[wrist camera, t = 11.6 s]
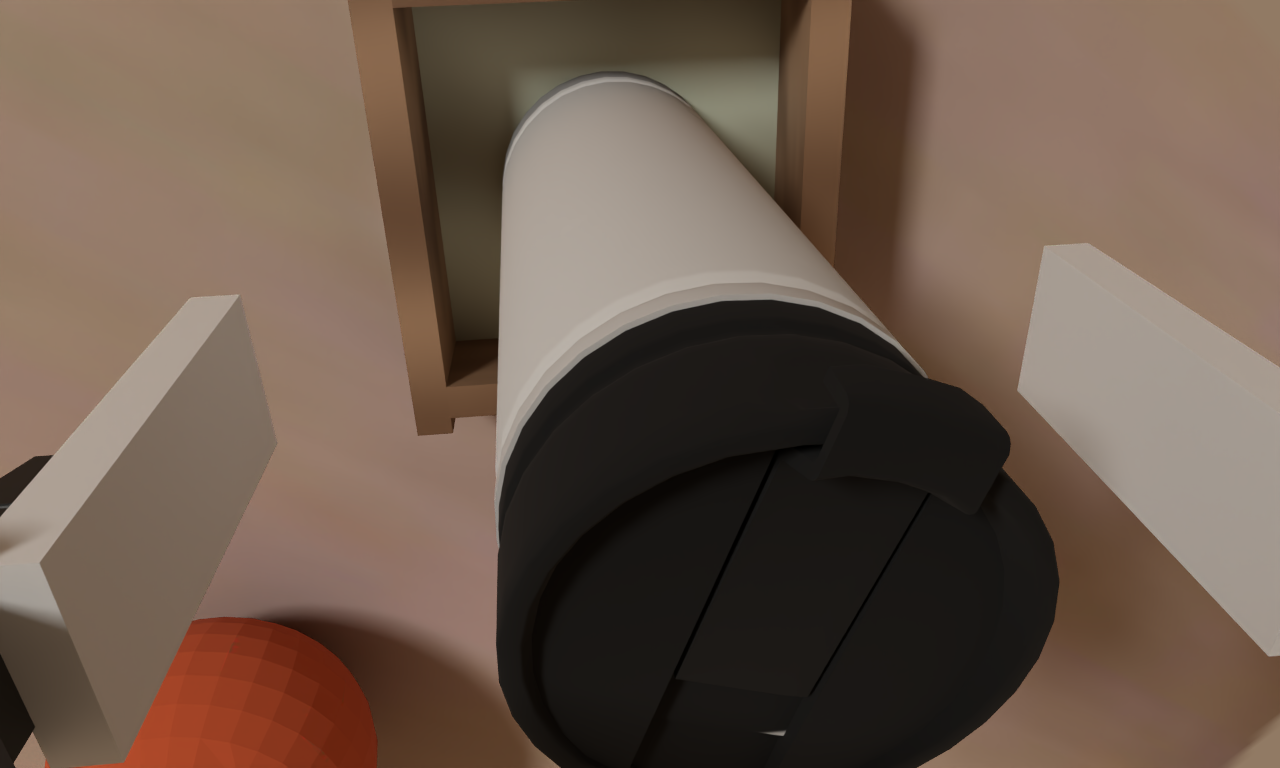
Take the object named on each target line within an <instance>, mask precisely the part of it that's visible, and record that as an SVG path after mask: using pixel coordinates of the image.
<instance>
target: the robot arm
mask: <svg viewBox="0 0 1280 768" xmlns="http://www.w3.org/2000/svg"><path fill="white" fill-rule="evenodd" d="M1017 391H1018V392H1019V393H1020V394H1021V395H1022V396H1023V397H1024V398H1025V399H1026V400H1027V401H1028V402H1029V403H1030V404H1031V406H1032V407H1033V408H1034V409H1035V410H1036V411H1037V412H1038V413H1039V414H1040V415H1041V416H1042V417H1043V418H1044V419H1045V420H1046V421H1047V422H1048V424H1049V425H1050V426H1051V427H1052V428H1053V429H1054V430H1055V431H1056V432H1057V433H1058V434H1059V435H1060V436H1061V437H1062V438H1063V439H1064V440H1065V442H1066V443H1067V444H1068V445H1069V446H1070V447H1071V448H1072V449H1073V450H1074V451H1075V452H1076V453H1077V454H1078V455H1079V456H1080V457H1081V458H1082V459H1083V461H1084V462H1085V463H1086V464H1087V465H1088V466H1089V467H1090V468H1091V469H1092V470H1093V471H1094V472H1095V473H1096V474H1097V475H1098V476H1099V477H1100V479H1101V480H1102V481H1103V482H1104V483H1105V484H1106V485H1107V486H1108V487H1109V488H1110V489H1111V490H1112V491H1113V492H1114V493H1115V494H1116V495H1117V497H1118V498H1119V499H1120V500H1121V501H1122V502H1123V503H1124V504H1125V505H1126V506H1127V507H1128V508H1129V509H1130V510H1131V511H1132V512H1133V513H1134V515H1135V516H1136V517H1137V518H1138V519H1139V520H1140V521H1141V522H1142V523H1143V524H1144V525H1145V526H1146V527H1147V528H1148V529H1149V530H1150V531H1151V533H1152V534H1153V535H1154V536H1155V537H1156V538H1157V539H1158V540H1159V541H1160V542H1161V543H1162V544H1163V545H1164V546H1165V547H1166V548H1167V549H1168V551H1169V552H1170V553H1171V554H1172V555H1173V556H1174V557H1175V558H1176V559H1177V560H1178V561H1179V562H1180V563H1181V564H1182V565H1183V566H1184V567H1185V569H1186V570H1187V571H1188V572H1189V573H1190V574H1191V575H1192V576H1193V577H1194V578H1195V579H1196V580H1197V581H1198V582H1199V583H1200V584H1201V585H1202V587H1203V588H1204V589H1205V590H1206V591H1207V592H1208V593H1209V594H1210V595H1211V596H1212V597H1213V598H1214V599H1215V600H1216V601H1217V602H1218V603H1219V605H1220V606H1221V607H1222V608H1223V609H1224V610H1225V611H1226V612H1227V613H1228V614H1229V615H1230V616H1231V617H1232V618H1233V619H1234V620H1235V621H1236V623H1237V624H1238V625H1239V626H1240V627H1241V628H1242V629H1243V630H1244V631H1245V632H1246V633H1247V634H1248V635H1249V636H1250V637H1251V638H1252V639H1253V641H1254V642H1255V643H1256V644H1257V645H1258V646H1259V647H1260V648H1261V649H1262V650H1263V651H1264V652H1265V653H1266V654H1267V655H1268V656H1269V657H1270V656H1280V367H1278V366H1277V365H1275V364H1274V363H1272V362H1271V361H1269V360H1267V359H1266V358H1264V357H1263V356H1261V355H1260V354H1258V353H1257V352H1255V351H1254V350H1252V349H1251V348H1249V347H1247V346H1246V345H1244V344H1243V343H1241V342H1240V341H1238V340H1237V339H1235V338H1234V337H1232V336H1231V335H1229V334H1227V333H1226V332H1224V331H1223V330H1221V329H1220V328H1218V327H1217V326H1215V325H1214V324H1212V323H1211V322H1209V321H1207V320H1206V319H1204V318H1203V317H1201V316H1200V315H1198V314H1197V313H1195V312H1194V311H1192V310H1191V309H1189V308H1187V307H1186V306H1184V305H1183V304H1181V303H1180V302H1178V301H1177V300H1175V299H1174V298H1172V297H1171V296H1169V295H1167V294H1166V293H1164V292H1163V291H1161V290H1160V289H1158V288H1157V287H1155V286H1154V285H1152V284H1150V283H1149V282H1147V281H1146V280H1144V279H1143V278H1141V277H1140V276H1138V275H1137V274H1135V273H1134V272H1132V271H1130V270H1129V269H1127V268H1126V267H1124V266H1123V265H1121V264H1120V263H1118V262H1117V261H1115V260H1114V259H1112V258H1110V257H1109V256H1107V255H1106V254H1104V253H1103V252H1101V251H1100V250H1098V249H1097V248H1095V247H1094V246H1092V245H1090V244H1089V243H1082V244H1066V245H1049V246H1044V250H1043V255H1042V261H1041V266H1040V271H1039V277H1038V282H1037V288H1036V293H1035V298H1034V304H1033V309H1032V315H1031V320H1030V325H1029V331H1028V336H1027V341H1026V347H1025V352H1024V358H1023V363H1022V368H1021V374H1020V379H1019V384H1018V390H1017ZM276 445H277V439H276V435H275V431H274V427H273V423H272V419H271V415H270V411H269V407H268V403H267V399H266V395H265V391H264V387H263V383H262V379H261V375H260V371H259V367H258V363H257V359H256V355H255V351H254V347H253V344H252V340H251V336H250V332H249V328H248V324H247V320H246V316H245V312H244V308H243V304H242V300H241V296H240V295H224V296H207V297H191V298H189V300H188V301H187V302H186V303H185V304H184V305H183V307H182V308H181V309H180V310H179V311H178V312H177V313H176V315H175V316H174V317H173V318H172V319H171V320H170V322H169V323H168V324H167V325H166V326H165V327H164V328H163V330H162V331H161V332H160V333H159V334H158V335H157V337H156V338H155V339H154V340H153V341H152V342H151V344H150V345H149V346H148V347H147V348H146V349H145V350H144V352H143V353H142V354H141V355H140V356H139V357H138V359H137V360H136V361H135V362H134V363H133V364H132V365H131V367H130V368H129V369H128V370H127V371H126V372H125V374H124V375H123V376H122V377H121V378H120V379H119V380H118V382H117V383H116V384H115V385H114V386H113V387H112V389H111V390H110V391H109V392H108V393H107V394H106V395H105V397H104V398H103V399H102V400H101V401H100V402H99V404H98V405H97V406H96V407H95V408H94V409H93V411H92V412H91V413H90V414H89V415H88V416H87V417H86V419H85V420H84V421H83V422H82V423H81V424H80V426H79V427H78V428H77V429H76V430H75V431H74V432H73V434H72V435H71V436H70V437H69V438H68V439H67V441H66V442H65V443H64V444H63V445H62V446H61V447H60V449H59V450H58V451H57V452H56V453H55V454H54V455H49V456H35V457H33V458H32V459H30V460H29V461H27V462H25V463H24V464H22V465H21V466H19V467H17V468H16V469H14V470H13V471H11V472H9V473H8V474H6V475H5V476H3V477H2V478H0V768H15V766H14V764H13V763H14V761H15V760H16V758H17V756H18V755H19V753H20V751H21V750H22V748H23V746H24V745H25V743H26V742H27V740H28V738H29V737H30V735H31V733H32V732H33V733H34V735H35V737H36V739H37V741H38V743H39V745H40V747H41V750H42V752H43V754H44V756H45V758H46V760H47V762H48V764H49V766H50V768H72V767H82V766H93V765H104V764H115V763H124V762H125V759H126V757H127V755H128V753H129V751H130V749H131V747H132V745H133V743H134V741H135V739H136V737H137V734H138V732H139V730H140V728H141V726H142V724H143V722H144V720H145V718H146V716H147V714H148V712H149V710H150V707H151V705H152V703H153V701H154V699H155V697H156V695H157V693H158V691H159V689H160V687H161V685H162V682H163V680H164V678H165V676H166V674H167V672H168V670H169V668H170V666H171V664H172V662H173V660H174V657H175V655H176V653H177V651H178V649H179V647H180V645H181V643H182V641H183V639H184V637H185V635H186V633H187V630H188V628H189V626H190V624H191V622H192V620H193V618H194V616H195V614H196V612H197V610H198V608H199V605H200V603H201V601H202V599H203V597H204V595H205V593H206V591H207V589H208V587H209V585H210V583H211V581H212V578H213V576H214V574H215V572H216V570H217V568H218V566H219V564H220V562H221V560H222V558H223V556H224V553H225V551H226V549H227V547H228V545H229V543H230V541H231V539H232V537H233V535H234V533H235V531H236V528H237V526H238V524H239V522H240V520H241V518H242V516H243V514H244V512H245V510H246V508H247V506H248V504H249V501H250V499H251V497H252V495H253V493H254V491H255V489H256V487H257V485H258V483H259V481H260V479H261V476H262V474H263V472H264V470H265V468H266V466H267V464H268V462H269V460H270V458H271V456H272V454H273V452H274V449H275V447H276Z"/></svg>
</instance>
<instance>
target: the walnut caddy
mask: <svg viewBox="0 0 1280 768" xmlns="http://www.w3.org/2000/svg"><path fill="white" fill-rule="evenodd" d="M348 5H349V11H350V17H351V23H352V30H353V36H354V42H355V48H356V54H357V61H358V67H359V73H360V79H361V85H362V92H363V98H364V104H365V110H366V116H367V123H368V129H369V135H370V141H371V147H372V154H373V160H374V166H375V172H376V178H377V185H378V191H379V197H380V203H381V209H382V216H383V222H384V228H385V234H386V240H387V247H388V253H389V259H390V265H391V271H392V278H393V284H394V290H395V296H396V302H397V309H398V315H399V321H400V327H401V333H402V340H403V346H404V352H405V358H406V364H407V371H408V377H409V383H410V389H411V395H412V402H413V408H414V414H415V420H416V426H417V433H418V436H420V435H434V434H448V433H453V429H454V423H455V418H459V417H473V416H487V415H497V386H498V347H499V308H500V269H501V230H502V191H503V170H504V164H505V157H506V152H507V149H508V147H509V144H510V141H511V138H512V136H513V133H514V131H515V130H516V128H517V126H518V125H519V123H520V121H521V120H522V118H523V117H524V115H525V114H526V112H527V111H528V110H529V109H530V108H531V107H532V106H533V105H534V104H535V103H536V102H537V101H538V100H539V99H540V98H541V97H542V96H544V95H545V94H546V93H548V92H549V91H551V90H552V89H554V88H555V87H556V86H558V85H559V84H562V83H564V82H566V81H569V80H571V79H573V78H576V77H578V76H581V75H586V74H591V73H596V72H601V71H624V72H629V73H634V74H638V75H643V76H646V77H649V78H651V79H653V80H655V81H658V82H660V83H662V84H665V85H666V86H668V87H669V88H670V89H672V90H673V91H675V92H676V93H677V94H679V95H680V96H682V97H683V98H684V99H685V100H686V102H687V103H688V104H689V105H690V106H691V107H692V108H693V109H694V110H695V111H696V112H697V114H698V115H699V116H700V117H701V118H702V119H703V120H704V121H705V123H706V124H707V125H708V126H709V127H710V128H711V129H712V131H713V132H714V133H715V134H716V135H717V136H718V137H719V138H720V140H721V141H722V142H723V143H724V144H725V145H726V146H727V148H728V149H729V150H730V151H731V152H732V153H733V154H734V156H735V157H736V158H737V159H738V160H739V161H740V162H741V163H742V165H743V166H744V167H745V168H746V169H747V170H748V171H749V173H750V174H751V175H752V176H753V177H754V178H755V179H756V181H757V182H758V183H759V184H760V185H761V186H762V187H763V188H764V190H765V191H766V192H767V193H768V194H769V195H770V196H771V198H772V199H773V200H774V201H775V202H776V203H777V204H778V205H779V207H780V208H781V209H782V210H783V211H784V212H785V213H786V215H787V216H788V217H789V218H790V219H791V220H792V221H793V223H794V224H795V225H796V226H797V227H798V228H799V229H800V230H801V232H802V233H803V234H804V235H805V236H806V237H807V238H808V240H809V241H810V242H811V243H812V244H813V245H814V246H815V248H816V249H817V250H818V251H819V252H820V253H821V254H822V255H823V257H824V258H825V259H826V260H827V261H828V262H829V263H830V265H831V266H832V267H833V268H834V259H835V244H836V229H837V215H838V200H839V185H840V170H841V156H842V141H843V126H844V111H845V97H846V82H847V67H848V52H849V37H850V23H851V8H852V0H348Z"/></svg>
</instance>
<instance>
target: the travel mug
mask: <svg viewBox="0 0 1280 768" xmlns="http://www.w3.org/2000/svg"><path fill="white" fill-rule="evenodd" d="M1010 445H1011V443H1010V437H1009V435H1008V433H1007V431H1006V430H1005V429H1004V428H1003V427H1002V426H1001V425H1000V423H999V422H998V421H997V420H996V419H995V418H994V417H993V416H992V414H991V413H990V412H989V411H988V410H987V409H986V408H985V407H984V405H982V404H981V403H980V402H978V401H977V400H975V399H974V398H973V397H971V396H970V395H969V394H967V393H966V392H965V391H963V390H962V389H961V388H958V387H954V386H951V385H948V384H944V383H941V382H938V381H934V380H931V379H928V377H927V375H926V373H925V371H924V370H923V369H922V368H921V367H920V366H919V364H918V363H917V362H916V361H915V360H914V359H913V358H912V357H911V356H910V355H909V353H908V352H907V351H906V350H905V349H904V348H903V347H902V346H901V344H900V343H899V342H898V341H897V339H896V338H895V337H894V336H893V335H892V334H891V333H890V332H889V330H888V329H887V328H886V327H885V326H884V325H883V324H882V322H881V321H880V320H879V319H878V318H877V317H876V316H875V315H874V313H873V312H872V311H871V310H870V309H869V308H868V307H867V305H866V304H865V303H864V302H863V301H862V300H861V299H860V297H859V296H858V295H857V294H856V293H855V292H854V291H853V290H852V288H851V287H850V286H849V285H848V284H847V283H846V282H845V280H844V279H843V278H842V277H841V276H840V275H839V274H838V272H837V271H836V270H835V269H834V268H833V267H832V266H831V265H830V263H829V262H828V261H827V260H826V259H825V258H824V257H823V255H822V254H821V253H820V252H819V251H818V250H817V249H816V248H815V246H814V245H813V244H812V243H811V242H810V241H809V240H808V238H807V237H806V236H805V235H804V234H803V233H802V232H801V230H800V229H799V228H798V227H797V226H796V225H795V224H794V223H793V221H792V220H791V219H790V218H789V217H788V216H787V215H786V213H785V212H784V211H783V210H782V209H781V208H780V207H779V205H778V204H777V203H776V202H775V201H774V200H773V199H772V198H771V196H770V195H769V194H768V193H767V192H766V191H765V190H764V188H763V187H762V186H761V185H760V184H759V183H758V182H757V181H756V179H755V178H754V177H753V176H752V175H751V174H750V173H749V171H748V170H747V169H746V168H745V167H744V166H743V165H742V163H741V162H740V161H739V160H738V159H737V158H736V157H735V156H734V154H733V153H732V152H731V151H730V150H729V149H728V148H727V146H726V145H725V144H724V143H723V142H722V141H721V140H720V138H719V137H718V136H717V135H716V134H715V133H714V132H713V131H712V129H711V128H710V127H709V126H708V125H707V124H706V123H705V121H704V120H703V119H702V118H701V117H700V116H699V115H698V114H697V112H696V111H695V110H694V109H693V108H692V107H691V106H690V105H689V104H688V103H687V102H686V100H685V99H684V98H683V97H682V96H680V95H679V94H677V93H676V92H675V91H673V90H672V89H670V88H669V87H668V86H666V85H665V84H662V83H660V82H658V81H655V80H653V79H651V78H649V77H646V76H643V75H638V74H634V73H629V72H624V71H601V72H596V73H591V74H586V75H581V76H578V77H576V78H573V79H571V80H569V81H566V82H564V83H562V84H559V85H558V86H556V87H555V88H554V89H552V90H551V91H549V92H548V93H546V94H545V95H544V96H542V97H541V98H540V99H539V100H538V101H537V102H536V103H535V104H534V105H533V106H532V107H531V108H530V109H529V110H528V111H527V112H526V114H525V115H524V117H523V118H522V120H521V121H520V123H519V125H518V126H517V128H516V130H515V131H514V133H513V136H512V138H511V141H510V144H509V147H508V149H507V152H506V157H505V164H504V170H503V191H502V230H501V269H500V308H499V347H498V386H497V425H496V464H495V470H496V485H495V519H496V535H497V544H498V547H499V552H498V577H497V631H496V648H497V661H498V674H499V683H500V686H501V688H502V691H503V693H504V696H505V699H506V701H507V704H508V706H509V709H510V711H511V714H512V716H513V718H514V719H515V720H516V722H517V723H518V724H519V726H520V727H521V728H522V730H523V731H524V732H525V734H526V735H527V736H528V738H529V739H530V740H531V742H532V743H533V744H534V746H535V747H537V748H538V749H539V750H540V751H541V752H543V753H544V754H545V755H546V756H547V757H549V758H550V759H551V760H552V761H553V762H555V763H556V764H557V765H558V766H559V767H561V768H917V767H919V766H921V765H922V764H924V763H926V762H928V761H929V760H931V759H933V758H935V757H937V756H938V755H940V754H942V753H944V752H945V751H947V750H949V749H951V748H952V747H953V746H955V745H956V744H957V743H959V742H960V741H961V740H962V739H964V738H965V737H966V736H968V735H969V734H970V733H972V732H973V731H974V730H976V729H977V728H978V727H980V726H981V725H982V724H984V723H985V722H986V721H987V720H988V719H989V718H990V717H991V716H992V715H993V714H994V713H995V712H996V711H997V710H998V709H999V708H1000V707H1001V706H1002V705H1003V704H1004V703H1005V702H1006V701H1007V700H1008V699H1009V698H1010V697H1011V696H1012V695H1013V694H1014V693H1015V692H1016V690H1017V689H1018V687H1019V686H1020V685H1021V683H1022V682H1023V680H1024V679H1025V677H1026V676H1027V674H1028V673H1029V671H1030V670H1031V669H1032V667H1033V666H1034V664H1035V663H1036V661H1037V660H1038V658H1039V656H1040V654H1041V652H1042V649H1043V647H1044V644H1045V642H1046V639H1047V637H1048V635H1049V632H1050V630H1051V627H1052V625H1053V622H1054V618H1055V610H1056V603H1057V596H1058V588H1059V575H1058V569H1057V562H1056V556H1055V550H1054V543H1053V540H1052V538H1051V536H1050V534H1049V532H1048V530H1047V528H1046V526H1045V524H1044V522H1043V520H1042V518H1041V516H1040V514H1039V512H1038V510H1037V508H1036V506H1035V505H1034V504H1033V503H1032V502H1031V501H1030V499H1029V498H1028V497H1027V496H1026V495H1025V494H1024V493H1023V491H1022V490H1021V489H1020V488H1019V487H1018V486H1017V485H1016V484H1015V482H1014V481H1013V480H1012V479H1011V478H1010V477H1009V476H1008V474H1007V473H1006V472H1005V471H1004V470H1003V469H1002V466H1003V465H1004V463H1005V461H1006V459H1007V458H1008V456H1009V453H1010Z"/></svg>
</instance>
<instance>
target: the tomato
mask: <svg viewBox="0 0 1280 768" xmlns="http://www.w3.org/2000/svg"><path fill="white" fill-rule="evenodd" d="M377 742H378V741H377V736H376V732H375V728H374V724H373V720H372V716H371V711H370V707H369V703H368V701H367V699H366V698H365V696H364V694H363V692H362V690H361V688H360V686H359V685H358V683H357V681H356V680H355V678H354V677H353V675H352V674H351V672H350V671H349V670H348V669H347V668H346V666H345V665H344V664H343V663H342V662H341V661H340V659H339V658H338V657H337V656H336V655H334V654H333V653H332V652H331V651H329V650H328V649H327V648H325V647H324V646H323V645H322V644H320V643H319V642H317V641H315V640H313V639H312V638H310V637H308V636H306V635H304V634H302V633H300V632H299V631H296V630H294V629H291V628H288V627H285V626H282V625H279V624H276V623H272V622H266V621H261V620H257V619H253V618H235V617H218V618H208V619H199V620H195V621H192V622H191V624H190V626H189V628H188V630H187V633H186V635H185V637H184V639H183V641H182V643H181V645H180V647H179V649H178V651H177V653H176V655H175V657H174V660H173V662H172V664H171V666H170V668H169V670H168V672H167V674H166V676H165V678H164V680H163V682H162V685H161V687H160V689H159V691H158V693H157V695H156V697H155V699H154V701H153V703H152V705H151V707H150V710H149V712H148V714H147V716H146V718H145V720H144V722H143V724H142V726H141V728H140V730H139V732H138V734H137V737H136V739H135V741H134V743H133V745H132V747H131V749H130V751H129V753H128V755H127V757H126V759H125V762H124V763H115V764H104V765H93V766H82V767H72V768H376V767H377ZM45 768H50V766H49V764H48V762H47V760H46V762H45Z"/></svg>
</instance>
